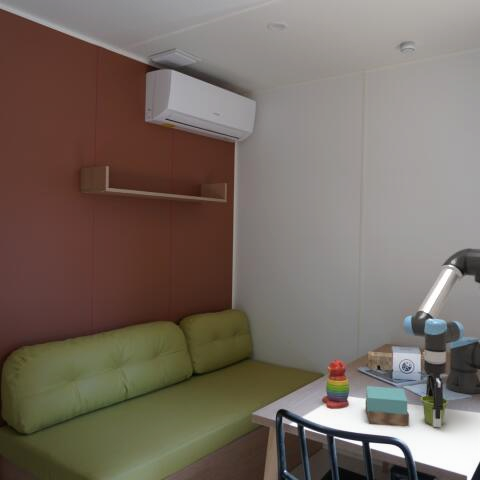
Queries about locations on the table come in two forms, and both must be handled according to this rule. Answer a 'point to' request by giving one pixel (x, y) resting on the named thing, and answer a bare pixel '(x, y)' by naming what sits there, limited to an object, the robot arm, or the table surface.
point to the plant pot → (428, 406)
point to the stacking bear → (337, 386)
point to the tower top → (386, 400)
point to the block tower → (386, 361)
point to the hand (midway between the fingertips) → (433, 421)
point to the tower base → (387, 418)
